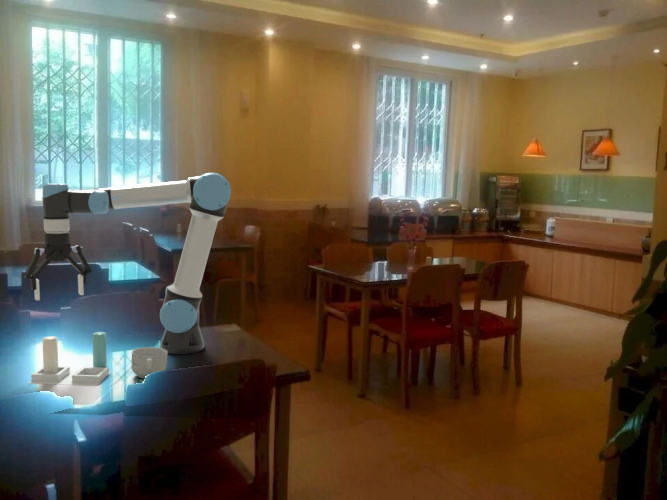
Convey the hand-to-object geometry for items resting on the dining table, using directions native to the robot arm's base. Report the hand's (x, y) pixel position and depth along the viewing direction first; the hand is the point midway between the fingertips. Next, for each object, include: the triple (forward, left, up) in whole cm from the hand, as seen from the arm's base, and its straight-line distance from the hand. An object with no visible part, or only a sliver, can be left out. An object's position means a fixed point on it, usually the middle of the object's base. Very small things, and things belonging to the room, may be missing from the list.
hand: (59, 297), depth 199 cm
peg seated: (-4, +17, -21) cm, 27 cm away
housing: (-10, +17, -22) cm, 29 cm away
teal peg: (-15, +7, -22) cm, 27 cm away
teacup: (-32, +12, -22) cm, 41 cm away
